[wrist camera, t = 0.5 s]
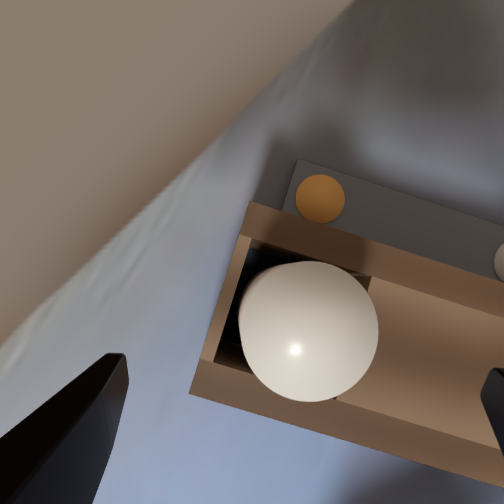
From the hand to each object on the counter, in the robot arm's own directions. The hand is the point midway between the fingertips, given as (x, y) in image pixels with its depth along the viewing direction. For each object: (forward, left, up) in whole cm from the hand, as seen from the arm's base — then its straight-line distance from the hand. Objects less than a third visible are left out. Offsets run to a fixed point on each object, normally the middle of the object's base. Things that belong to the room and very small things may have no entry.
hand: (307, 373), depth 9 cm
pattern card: (-1, -11, -14) cm, 17 cm away
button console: (-6, -5, -14) cm, 16 cm away
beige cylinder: (0, -1, -10) cm, 10 cm away
